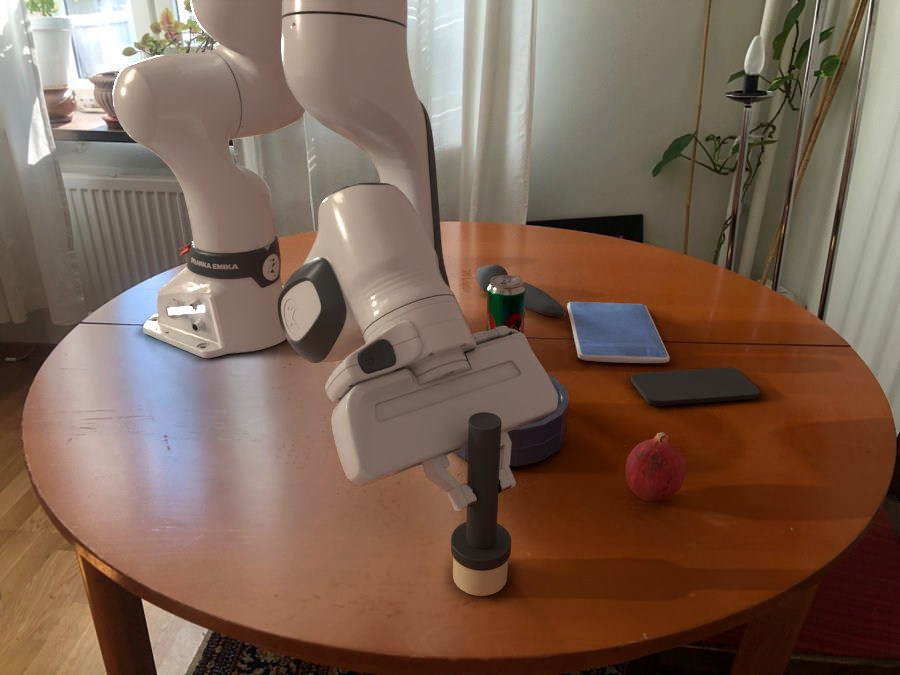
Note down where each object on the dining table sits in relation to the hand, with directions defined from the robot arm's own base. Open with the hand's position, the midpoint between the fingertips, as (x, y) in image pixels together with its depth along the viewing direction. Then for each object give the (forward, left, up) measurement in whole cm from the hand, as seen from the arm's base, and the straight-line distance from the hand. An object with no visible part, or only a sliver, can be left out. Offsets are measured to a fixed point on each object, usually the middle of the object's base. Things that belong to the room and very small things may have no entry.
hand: (486, 499), depth 61 cm
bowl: (-7, +22, -9) cm, 25 cm away
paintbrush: (-18, +60, -9) cm, 63 cm away
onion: (+11, +17, -9) cm, 23 cm away
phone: (+12, +42, -9) cm, 45 cm away
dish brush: (0, 0, -9) cm, 9 cm away
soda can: (-13, +39, -9) cm, 42 cm away
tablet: (-1, +54, -9) cm, 55 cm away
